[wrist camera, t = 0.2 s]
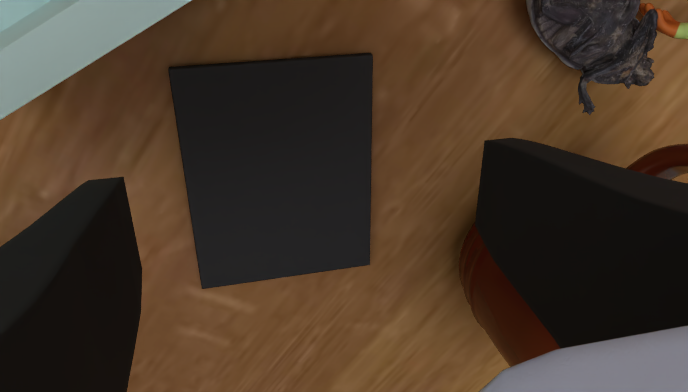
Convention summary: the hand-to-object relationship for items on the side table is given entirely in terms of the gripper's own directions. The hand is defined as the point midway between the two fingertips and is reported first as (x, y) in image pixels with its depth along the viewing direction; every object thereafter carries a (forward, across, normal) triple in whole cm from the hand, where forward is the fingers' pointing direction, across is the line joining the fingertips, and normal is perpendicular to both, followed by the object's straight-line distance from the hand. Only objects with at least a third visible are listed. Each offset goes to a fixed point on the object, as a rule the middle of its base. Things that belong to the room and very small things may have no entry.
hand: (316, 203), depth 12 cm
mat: (+10, 0, +4) cm, 11 cm away
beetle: (+7, -11, +1) cm, 13 cm away
